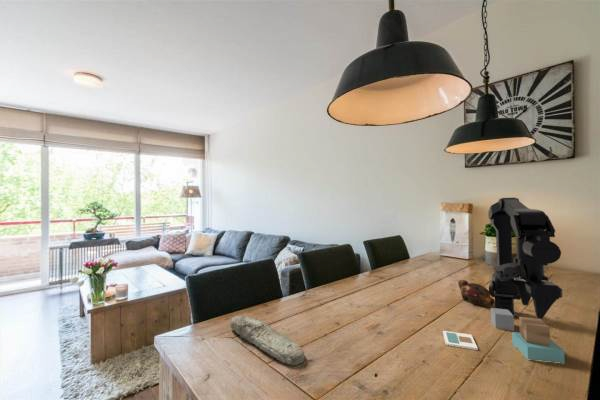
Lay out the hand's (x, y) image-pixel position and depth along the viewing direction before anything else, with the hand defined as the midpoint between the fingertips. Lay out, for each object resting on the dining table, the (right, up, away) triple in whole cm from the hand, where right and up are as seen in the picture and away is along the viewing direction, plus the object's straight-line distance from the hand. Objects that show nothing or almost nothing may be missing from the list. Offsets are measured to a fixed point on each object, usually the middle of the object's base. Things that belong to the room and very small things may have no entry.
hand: (531, 311), depth 74 cm
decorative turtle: (+8, -12, +36) cm, 38 cm away
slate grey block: (+3, -12, +15) cm, 19 cm away
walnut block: (0, -8, 0) cm, 8 cm away
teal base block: (+1, -12, -1) cm, 12 cm away
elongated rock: (-77, -14, +10) cm, 79 cm away
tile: (-16, -12, +7) cm, 21 cm away
